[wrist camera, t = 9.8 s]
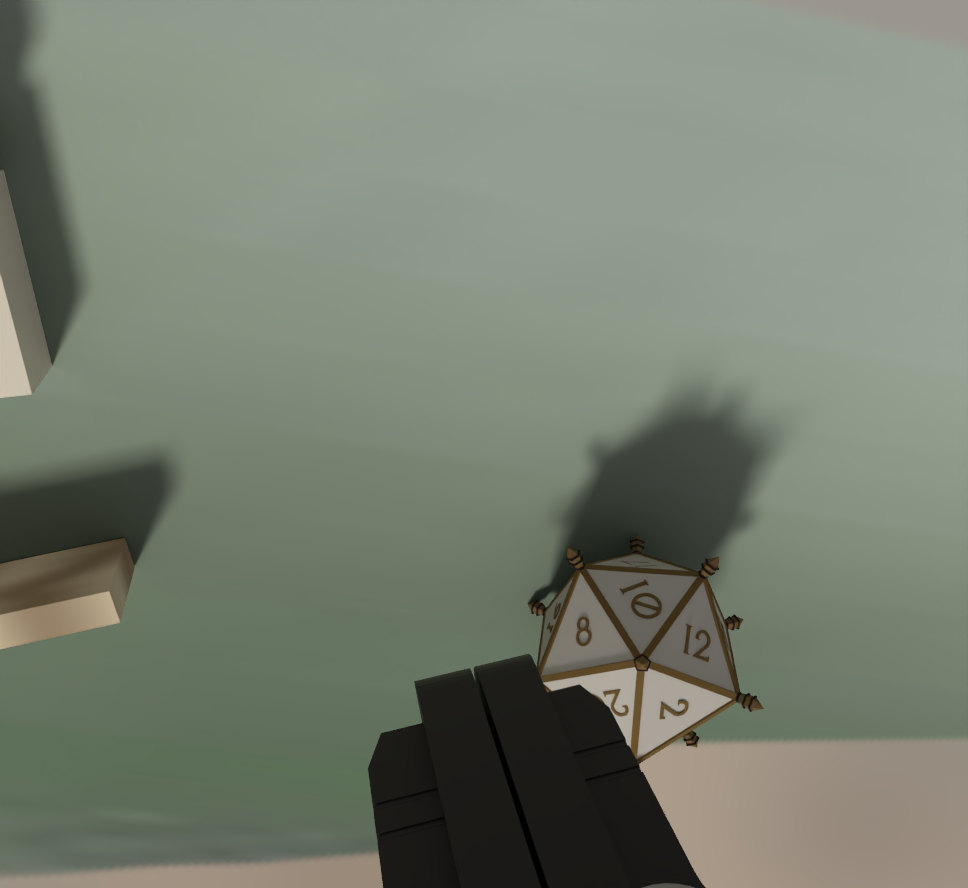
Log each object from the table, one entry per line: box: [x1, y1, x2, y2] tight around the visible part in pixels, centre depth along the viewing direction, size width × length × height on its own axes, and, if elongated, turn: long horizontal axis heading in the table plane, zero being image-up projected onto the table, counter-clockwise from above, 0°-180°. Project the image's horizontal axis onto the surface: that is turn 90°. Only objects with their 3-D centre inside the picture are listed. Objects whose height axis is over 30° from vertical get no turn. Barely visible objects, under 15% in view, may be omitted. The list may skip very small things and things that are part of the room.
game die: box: [528, 534, 764, 764], centre depth 33 cm, size 9×8×10 cm
